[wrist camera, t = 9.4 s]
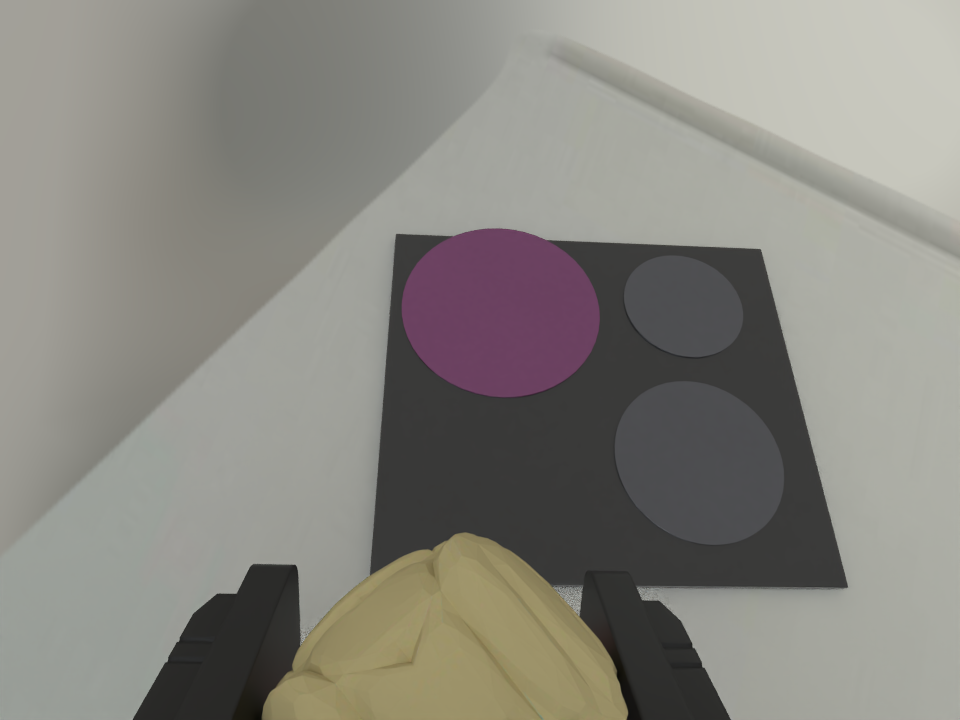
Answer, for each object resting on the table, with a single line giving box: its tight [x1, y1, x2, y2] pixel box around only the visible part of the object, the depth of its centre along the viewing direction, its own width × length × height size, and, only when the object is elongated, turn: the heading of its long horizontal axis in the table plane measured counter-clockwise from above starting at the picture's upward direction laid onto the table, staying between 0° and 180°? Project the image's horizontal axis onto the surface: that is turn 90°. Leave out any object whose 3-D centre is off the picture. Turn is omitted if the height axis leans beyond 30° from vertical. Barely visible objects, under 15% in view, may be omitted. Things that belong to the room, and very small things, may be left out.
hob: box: [370, 229, 848, 589], centre depth 28 cm, size 18×16×1 cm
